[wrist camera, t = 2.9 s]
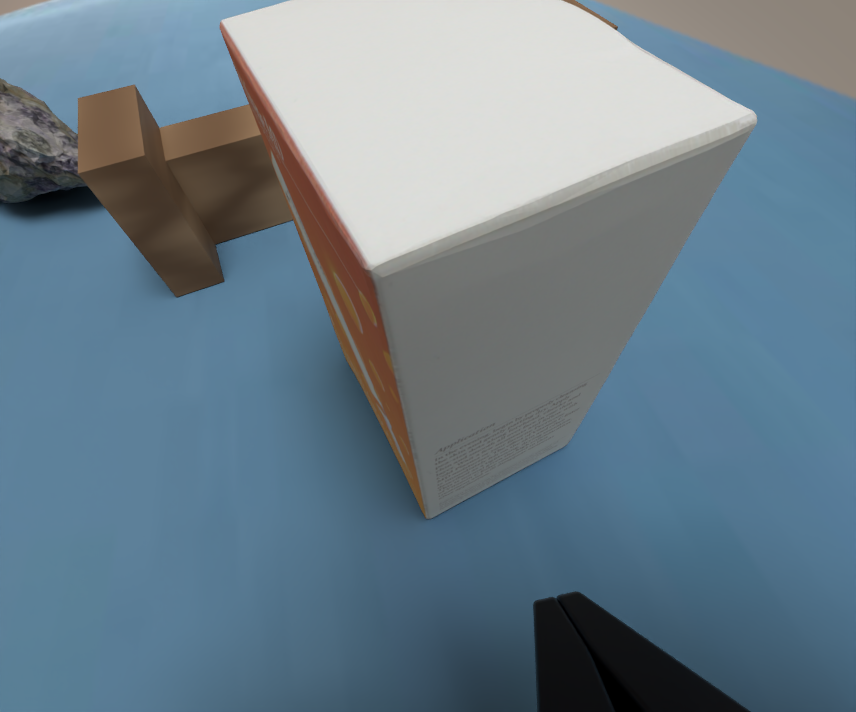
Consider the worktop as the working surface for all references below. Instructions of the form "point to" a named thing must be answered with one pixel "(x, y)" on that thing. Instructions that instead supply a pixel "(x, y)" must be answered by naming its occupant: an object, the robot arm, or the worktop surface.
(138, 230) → the stop rail
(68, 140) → the mineral rock
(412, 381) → the small box
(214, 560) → the worktop surface
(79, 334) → the worktop surface
